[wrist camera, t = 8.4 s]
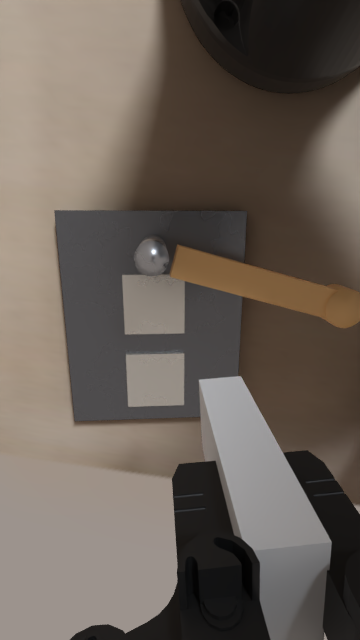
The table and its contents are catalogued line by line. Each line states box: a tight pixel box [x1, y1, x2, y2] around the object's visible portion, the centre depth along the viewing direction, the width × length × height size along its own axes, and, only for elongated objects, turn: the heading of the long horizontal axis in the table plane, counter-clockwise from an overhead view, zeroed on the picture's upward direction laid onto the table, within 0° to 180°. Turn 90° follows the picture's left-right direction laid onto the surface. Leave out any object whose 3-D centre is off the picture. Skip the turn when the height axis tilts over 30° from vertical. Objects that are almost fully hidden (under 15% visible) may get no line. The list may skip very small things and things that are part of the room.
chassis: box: [54, 210, 247, 421], centre depth 23 cm, size 16×13×8 cm
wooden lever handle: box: [170, 244, 360, 328], centre depth 21 cm, size 12×2×2 cm, turn 74°
